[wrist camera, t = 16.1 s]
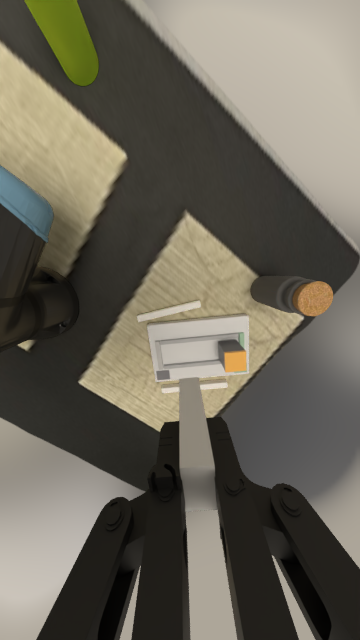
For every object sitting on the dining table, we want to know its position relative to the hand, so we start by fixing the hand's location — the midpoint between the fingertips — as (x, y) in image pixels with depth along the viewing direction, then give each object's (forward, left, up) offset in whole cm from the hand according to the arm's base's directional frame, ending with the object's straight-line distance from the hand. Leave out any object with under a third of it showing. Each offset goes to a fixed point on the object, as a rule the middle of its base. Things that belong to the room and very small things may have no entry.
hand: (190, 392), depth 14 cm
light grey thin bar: (-3, +2, -26) cm, 27 cm away
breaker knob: (+9, -8, -24) cm, 27 cm away
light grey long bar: (+1, -18, -26) cm, 32 cm away
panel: (+3, -8, -26) cm, 28 cm away
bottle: (+18, +4, -27) cm, 32 cm away
